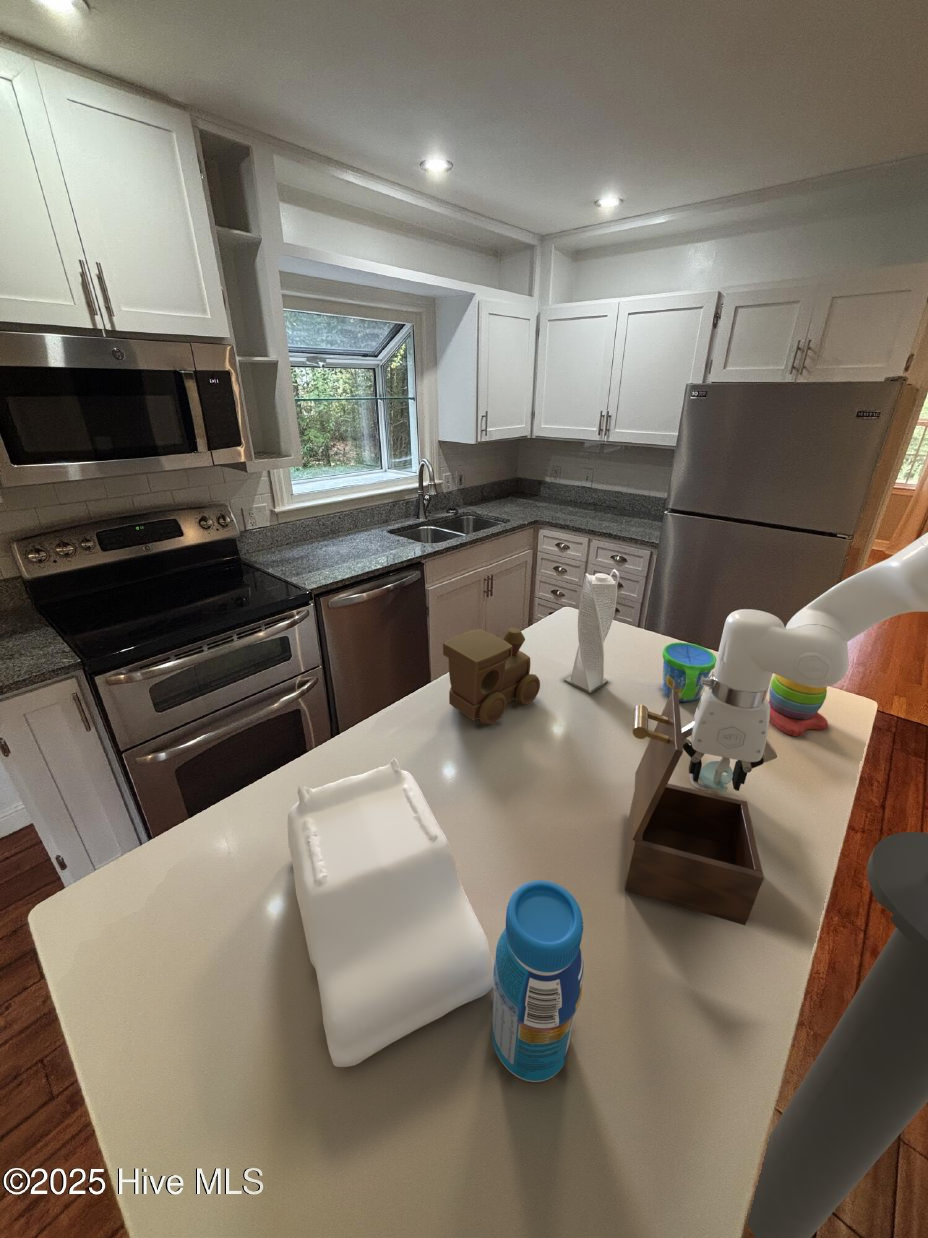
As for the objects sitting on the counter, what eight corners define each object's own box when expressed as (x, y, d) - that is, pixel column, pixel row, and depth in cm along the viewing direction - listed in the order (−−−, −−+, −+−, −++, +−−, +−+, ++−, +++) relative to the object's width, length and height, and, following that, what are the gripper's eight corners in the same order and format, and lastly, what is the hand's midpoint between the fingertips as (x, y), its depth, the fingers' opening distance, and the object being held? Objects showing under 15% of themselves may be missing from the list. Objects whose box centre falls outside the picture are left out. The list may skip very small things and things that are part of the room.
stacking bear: (791, 738, 97) (820, 659, 89) (749, 709, 105) (772, 634, 98) (832, 728, 100) (863, 650, 92) (788, 700, 108) (813, 627, 101)
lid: (678, 691, 67) (640, 679, 68) (683, 751, 56) (637, 736, 57) (640, 774, 74) (606, 762, 75) (638, 842, 63) (598, 827, 64)
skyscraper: (612, 684, 113) (632, 568, 101) (592, 698, 108) (610, 577, 96) (581, 670, 119) (596, 558, 107) (561, 682, 114) (574, 566, 102)
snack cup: (707, 719, 102) (718, 677, 98) (653, 707, 106) (661, 666, 101) (705, 681, 115) (715, 642, 111) (657, 671, 119) (664, 633, 114)
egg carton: (410, 806, 80) (407, 740, 74) (504, 991, 56) (509, 915, 50) (287, 849, 73) (273, 779, 67) (333, 1086, 48) (317, 1008, 43)
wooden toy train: (477, 737, 96) (479, 662, 89) (439, 710, 104) (439, 640, 97) (544, 698, 108) (551, 630, 101) (506, 676, 116) (510, 612, 109)
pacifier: (683, 787, 83) (722, 803, 80) (689, 757, 80) (730, 772, 77) (696, 763, 88) (733, 777, 85) (702, 734, 86) (740, 748, 82)
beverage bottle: (473, 1038, 52) (477, 914, 43) (521, 974, 58) (533, 854, 49) (540, 1110, 47) (559, 987, 38) (586, 1033, 52) (612, 910, 44)
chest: (731, 845, 74) (747, 801, 70) (745, 926, 63) (764, 878, 59) (628, 819, 78) (637, 776, 74) (624, 890, 67) (634, 843, 64)
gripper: (678, 692, 75) (660, 784, 83) (809, 713, 70) (777, 809, 78) (676, 668, 82) (659, 756, 89) (796, 686, 76) (767, 777, 84)
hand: (714, 780), depth 83 cm, fingers closed on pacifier, 5 cm apart
